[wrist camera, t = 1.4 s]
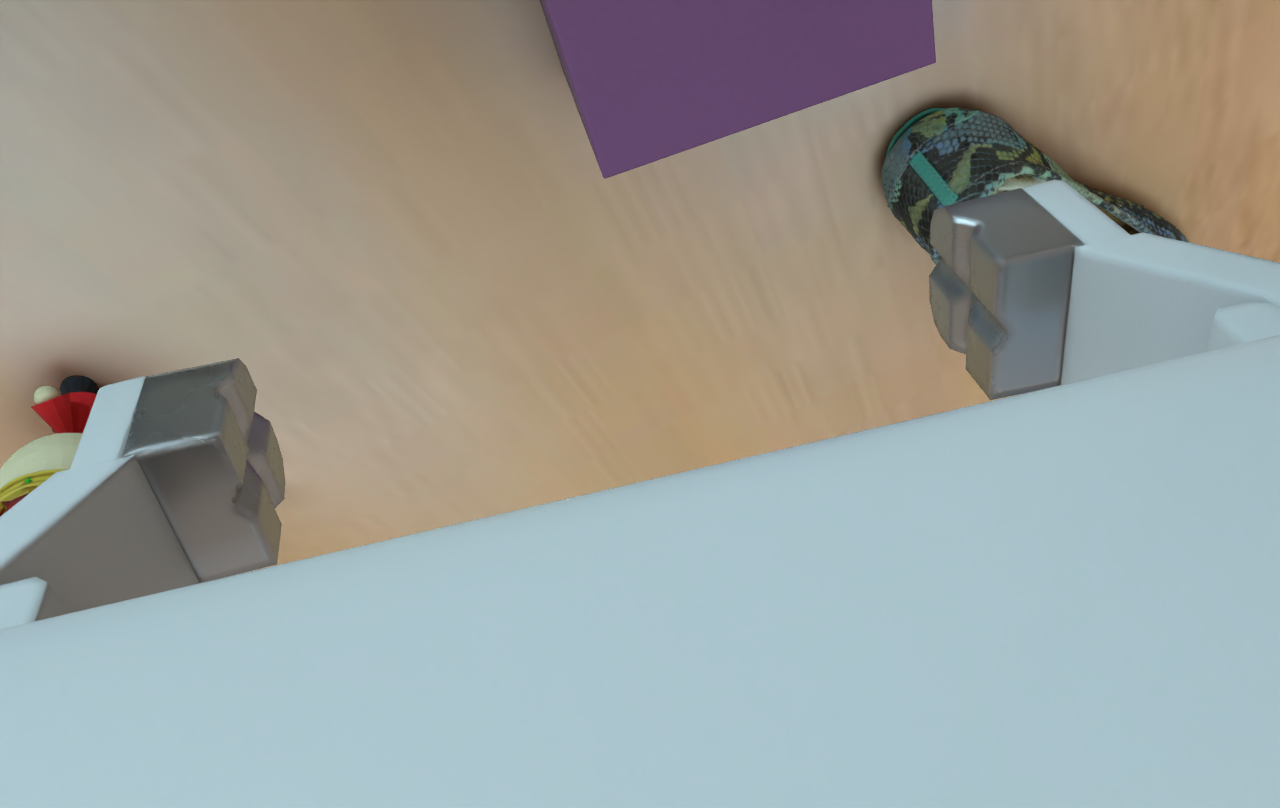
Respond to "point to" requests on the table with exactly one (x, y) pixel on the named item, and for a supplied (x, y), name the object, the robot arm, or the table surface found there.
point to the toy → (49, 439)
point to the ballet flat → (980, 172)
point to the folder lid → (723, 64)
